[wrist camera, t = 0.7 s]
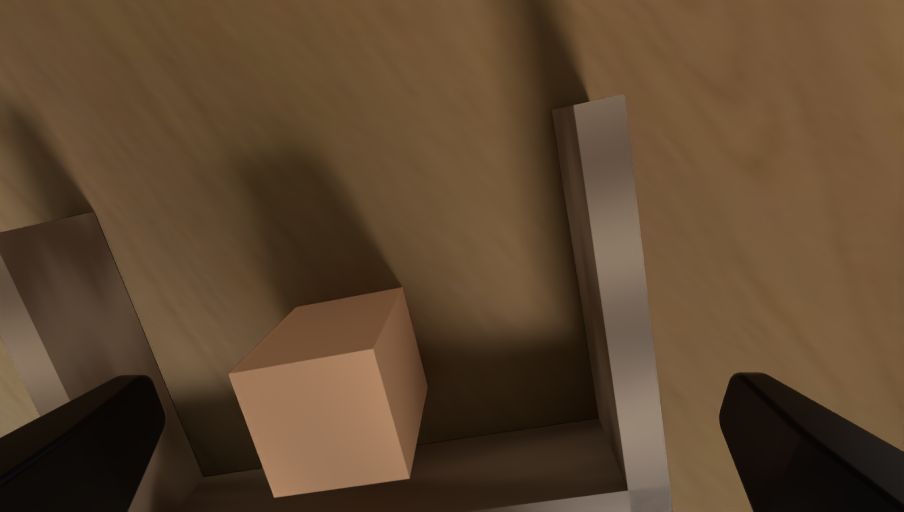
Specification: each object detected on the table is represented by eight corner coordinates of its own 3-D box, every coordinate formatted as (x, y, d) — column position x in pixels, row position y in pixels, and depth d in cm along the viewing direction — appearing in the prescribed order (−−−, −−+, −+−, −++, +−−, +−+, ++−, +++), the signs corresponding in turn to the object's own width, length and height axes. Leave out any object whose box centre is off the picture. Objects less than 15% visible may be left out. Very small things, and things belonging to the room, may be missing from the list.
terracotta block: (428, 386, 22) (409, 478, 16) (326, 402, 23) (274, 497, 17) (402, 286, 21) (373, 348, 15) (296, 306, 21) (228, 374, 16)
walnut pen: (635, 440, 22) (673, 517, 18) (186, 504, 25) (124, 585, 20) (590, 101, 18) (624, 93, 14) (63, 218, 21) (-47, 242, 16)
